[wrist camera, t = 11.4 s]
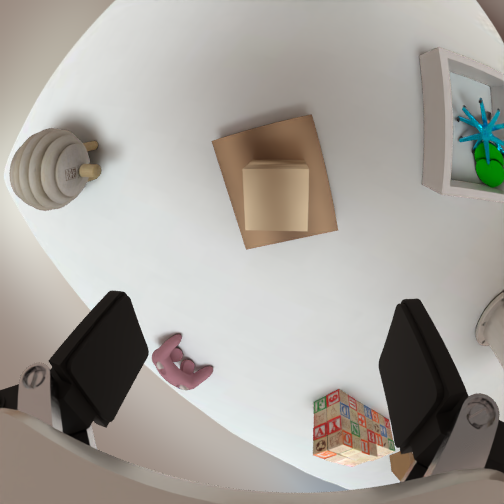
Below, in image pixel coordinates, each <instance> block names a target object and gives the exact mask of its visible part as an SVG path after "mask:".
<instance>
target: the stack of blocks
mask: <svg viewBox="0 0 504 504" xmlns="http://www.w3.org/2000/svg"><path fill="white" fill-rule="evenodd" d="M393 452H395V447H394V441H393V438H392V432H391V428H390V423H389V420H388V419H386V418H385V417H383V416H382V415H380V414H378V413H377V412H375V411H374V410H372V409H370V408H368V407H366V406H365V405H363V404H361V403H360V402H358V401H356V400H355V399H354V398H352V397H351V396H349V395H347V394H346V393H345V392H343V391H342V390H340V389H338V390H336V391H334V392H332V393H330V394H328V395H327V396H325V397H323V398H321V399H319V400H317V401H315V402H314V428H313V455H314V456H317V457H320V458H323V459H324V460H327V461H330V462H334V463H338V464H342V465H346V466H350V467H353V466H356V465H359V464H361V463H364V462H366V461H374V460H376V459H379V458H381V457H383V456H386V455H388V454H390V453H393Z"/></svg>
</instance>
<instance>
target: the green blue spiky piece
mask: <svg viewBox="0 0 504 504" xmlns="http://www.w3.org/2000/svg"><path fill="white" fill-rule="evenodd" d="M479 103H480V108H481V114H482V121H483V122H482V124H480V123H478V121H477V120H476V119H475V118H474V117H473V116H472V115H471V114H470V113H469V112H468V111H467V109H466V106H465V105H464V106H463V108H462V110H463V111H464V112H465V114H466V115H467V116H468V117H469V119H470V120H469V119H466V118H463V117H460V116H458V117H457V121H458V122H459V121H463V122H465V123H467V124H469V125H471V126H474V127H476V128H477V129H478V130H479V132H480V133H477V134H474V135H470V136H467V137H462V136H461V137H460V139H459V141H460V142H465V141H472V140H477V141H476V143H475V145H474V147H473V150H472V152H473V153H475V154H474V155H475V160H476V172H477V175H478V176H479V178H480V179H481V180H482V181H483V182H484V183H485V184H486V185H488V186H489V187H492V188H494V187H497V186H499V185H500V184H502V182H503V180H504V167H503V166H504V150H503V149H502V147H501V145H502V146H504V141H502V140H501V139H499V138H497V137H495V136H494V135H493V133H492V131H496V130H499V129H503V128H504V123H502V124H495V122H496V120H497V118H498V116H499V114H500V109H497V112H496V113H495V115H494V116H493V118H492V120H491V113H490V112H487V113H485V108H484V104H483V101H482V98H479ZM494 124H495V125H494ZM482 140H483V141H482ZM489 140H490V141H493V143H494V144H493V143H492V142H490V141H489Z"/></svg>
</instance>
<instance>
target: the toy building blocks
mask: <svg viewBox="0 0 504 504" xmlns="http://www.w3.org/2000/svg"><path fill="white" fill-rule="evenodd" d="M390 462H391V470H392V472H393V473H394V474H395V476H396V477H397V478H398V479H399V480H400V482H401V480H402V479H403V477H404V476H405V474H406V473H407V471H408V470H409V468H410V466H411V465H412V463H413V462H414V457H413V454H412V453H411V452H410V453H406V454H401V452H397V453H395V454H392V455H390Z"/></svg>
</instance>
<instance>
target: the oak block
mask: <svg viewBox="0 0 504 504" xmlns="http://www.w3.org/2000/svg"><path fill="white" fill-rule="evenodd" d="M242 171H243V192H244V212H245V230H262V231H307V230H308V200H309V168H308V166H307V164H306V162H305V160H252V161H251V162H250V163H249V164H248V165H246V166H245V167H244V168H243V169H242Z"/></svg>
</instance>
